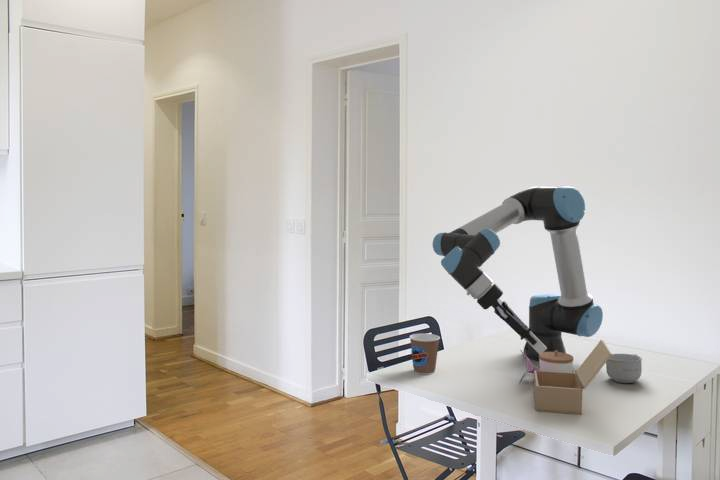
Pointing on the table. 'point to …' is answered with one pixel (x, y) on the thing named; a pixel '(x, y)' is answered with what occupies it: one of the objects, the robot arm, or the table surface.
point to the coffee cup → (424, 352)
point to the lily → (529, 366)
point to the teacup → (624, 367)
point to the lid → (593, 364)
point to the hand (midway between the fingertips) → (543, 351)
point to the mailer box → (557, 392)
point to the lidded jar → (556, 362)
